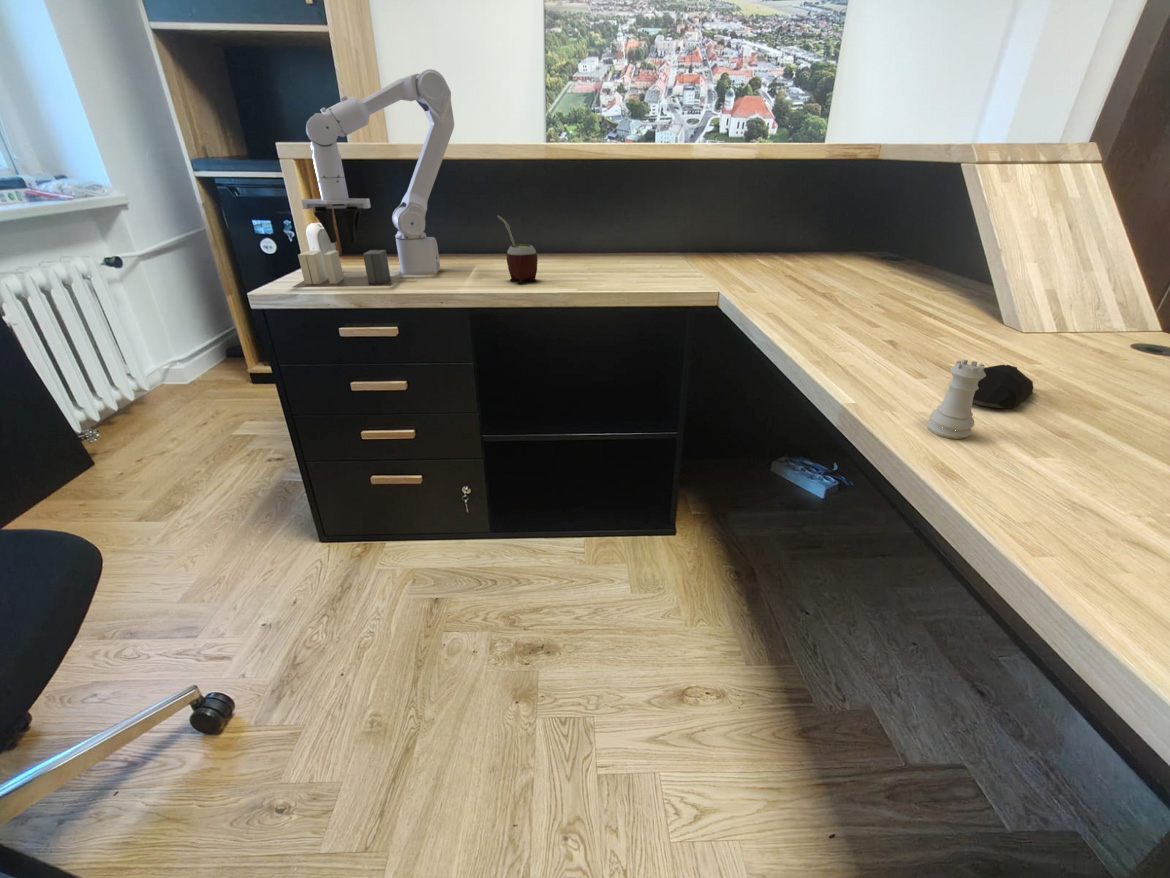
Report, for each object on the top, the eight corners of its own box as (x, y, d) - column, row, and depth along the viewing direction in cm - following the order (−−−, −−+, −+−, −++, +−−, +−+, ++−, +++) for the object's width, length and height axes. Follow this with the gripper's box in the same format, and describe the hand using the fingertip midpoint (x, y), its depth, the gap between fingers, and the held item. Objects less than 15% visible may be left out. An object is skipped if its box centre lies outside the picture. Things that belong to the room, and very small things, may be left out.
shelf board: (402, 279, 134) (402, 276, 133) (391, 289, 125) (390, 285, 124) (310, 280, 133) (309, 277, 133) (292, 290, 124) (291, 287, 124)
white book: (344, 279, 131) (338, 250, 128) (336, 283, 126) (330, 254, 123) (337, 279, 131) (331, 250, 128) (329, 283, 126) (322, 254, 123)
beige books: (328, 279, 131) (321, 250, 127) (320, 284, 126) (313, 254, 123) (313, 279, 130) (306, 250, 127) (304, 284, 126) (297, 254, 123)
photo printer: (313, 273, 140) (301, 221, 134) (330, 271, 143) (319, 220, 137) (326, 280, 133) (313, 225, 127) (344, 277, 136) (332, 224, 130)
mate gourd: (541, 278, 133) (538, 211, 126) (533, 286, 126) (530, 215, 119) (511, 277, 134) (506, 211, 127) (502, 285, 127) (496, 215, 120)
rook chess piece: (921, 420, 65) (941, 355, 61) (964, 424, 64) (988, 358, 60) (930, 437, 61) (952, 369, 57) (976, 442, 60) (1002, 373, 56)
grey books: (390, 278, 131) (385, 249, 128) (384, 283, 127) (379, 253, 123) (374, 278, 131) (369, 250, 128) (368, 283, 126) (362, 253, 123)
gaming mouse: (1049, 387, 73) (1061, 358, 71) (1001, 416, 66) (1014, 385, 64) (996, 373, 78) (1006, 345, 76) (945, 399, 70) (955, 369, 68)
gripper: (289, 178, 118) (305, 245, 125) (358, 178, 119) (370, 244, 125) (303, 177, 125) (317, 240, 131) (368, 176, 125) (379, 239, 132)
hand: (344, 242), depth 129 cm, fingers open, 4 cm apart
